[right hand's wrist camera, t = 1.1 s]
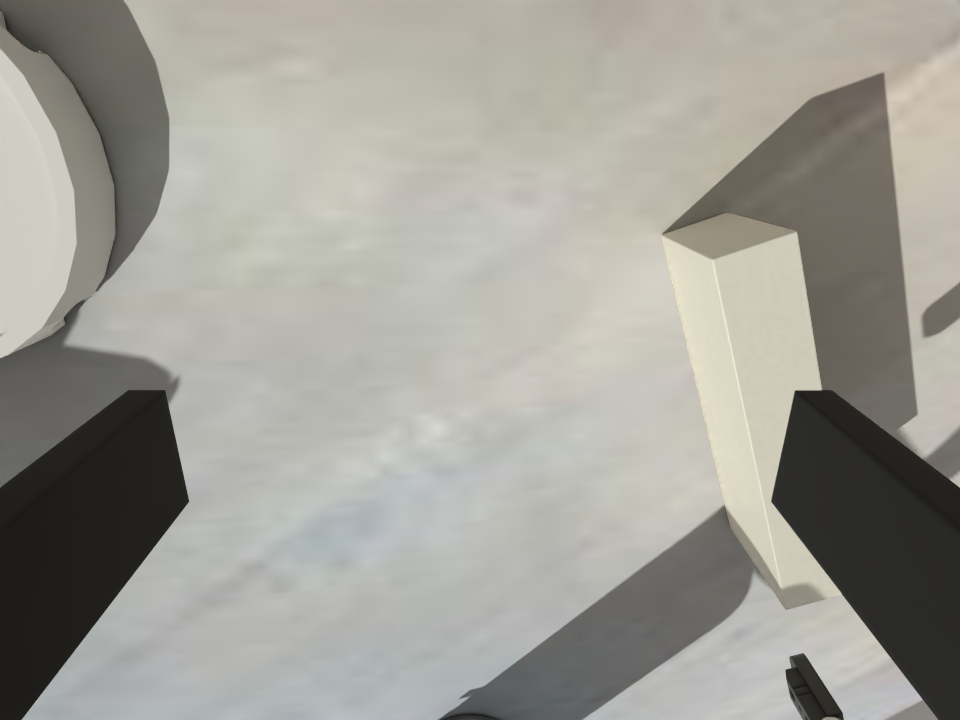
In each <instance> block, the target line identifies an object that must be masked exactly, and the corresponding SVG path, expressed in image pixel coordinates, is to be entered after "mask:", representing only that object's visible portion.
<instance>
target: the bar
mask: <svg viewBox="0 0 960 720" xmlns="http://www.w3.org/2000/svg"><path fill="white" fill-rule="evenodd" d="M661 238H662V242H663V246H664V251H665V255H666V259H667V263H668V267H669V272H670V276H671V280H672V284H673V289H674V293H675V297H676V301H677V305H678V310H679V314H680V318H681V322H682V327H683V331H684V335H685V339H686V343H687V348H688V352H689V356H690V360H691V365H692V369H693V373H694V377H695V381H696V386H697V390H698V394H699V398H700V403H701V407H702V411H703V415H704V419H705V424H706V428H707V432H708V436H709V441H710V445H711V449H712V453H713V457H714V462H715V466H716V470H717V474H718V479H719V483H720V487H721V491H722V495H723V500H724V504H725V508H726V512H727V517H728V521H729V525H730V528H731V530H732V531H733V533H734V534H735V536H736V537H737V539H738V540H739V541H740V543H741V544H742V546H743V547H744V549H745V550H746V552H747V553H748V555H749V556H750V558H751V559H752V561H753V562H754V564H755V565H756V567H757V568H758V570H759V571H760V573H761V574H762V576H763V577H764V579H765V580H766V581H767V583H768V584H769V586H770V587H771V589H772V590H773V592H774V593H775V595H776V596H777V598H778V599H779V601H780V602H781V604H782V605H783V607H784V608H785V609H786V610H787V609H791V608H795V607H798V606H802V605H806V604H810V603H813V602H817V601H821V600H824V599H828V598H832V597H835V596H839V595H842V593H841V592H840V591H839V590H838V588H837V587H836V586H835V584H834V583H833V582H832V580H831V579H830V578H829V576H828V575H827V574H826V573H825V571H824V570H823V569H822V567H821V566H820V565H819V563H818V562H817V561H816V560H815V558H814V557H813V556H812V554H811V553H810V552H809V550H808V549H807V548H806V547H805V545H804V544H803V543H802V541H801V540H800V539H799V537H798V536H797V535H796V534H795V532H794V531H793V530H792V528H791V527H790V526H789V524H788V523H787V522H786V521H785V519H784V518H783V517H782V515H781V514H780V513H779V511H778V510H777V509H776V508H775V506H774V505H773V504H772V502H771V499H772V494H773V490H774V485H775V480H776V476H777V471H778V466H779V462H780V457H781V452H782V448H783V443H784V439H785V434H786V429H787V425H788V420H789V415H790V411H791V406H792V401H793V397H794V392H795V390H822V384H821V378H820V372H819V365H818V359H817V353H816V346H815V340H814V334H813V327H812V321H811V315H810V308H809V302H808V296H807V289H806V283H805V277H804V271H803V264H802V258H801V252H800V245H799V239H798V233H797V231H794V230H791V229H787V228H783V227H780V226H776V225H772V224H768V223H765V222H761V221H757V220H753V219H750V218H746V217H742V216H738V215H735V214H731V213H724V214H721V215H718V216H715V217H712V218H709V219H706V220H703V221H700V222H697V223H694V224H691V225H689V226H686V227H683V228H680V229H677V230H674V231H671V232H668V233H665V234H662V235H661Z"/></svg>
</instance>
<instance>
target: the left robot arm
mask: <svg viewBox="0 0 960 720" xmlns="http://www.w3.org/2000/svg"><path fill="white" fill-rule="evenodd" d="M790 663H791V667H792V668H791V669H787V670H786V679H787V683H788V688H789V693H790V697H791V699H792V701H793V703H794V705H795V706H796V708H797V710H798V712H799V713H800V715H801V717H802V719H803V720H844V719H843V713H842V711H841V710H840V708H839V707H838V705H837V704H836V702H835V700H834V699H833V697H832V696H831V694H830V693H829V691H828V690H827V688H826V687H825V685H824V683H823V682H822V680H821V679H820V677H819V676H818V674H817V673H816V671H815V670H814V668H813V666H812V665H811V663H810V662H809V660H808V659H807V657H806V656H805V654H803V653H802V654H798V655H794V656H790ZM446 720H495V719H492V718H489V717H484V716H477V715H464V716H457V717H452V718H449V719H446Z"/></svg>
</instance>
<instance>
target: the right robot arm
mask: <svg viewBox="0 0 960 720" xmlns="http://www.w3.org/2000/svg"><path fill="white" fill-rule="evenodd" d="M188 502H189V499H188V494H187V490H186V485H185V480H184V476H183V471H182V466H181V462H180V457H179V452H178V448H177V443H176V439H175V434H174V429H173V425H172V420H171V415H170V411H169V406H168V401H167V397H166V392H165V390H128V391H127V392H125V393H124V394H123V395H122V396H120V397H119V398H118V399H116V400H115V401H114V402H112V403H111V404H110V405H108V406H107V407H106V408H104V409H103V410H102V411H101V412H99V413H98V414H97V415H95V416H94V417H93V418H91V419H90V420H89V421H87V422H86V423H85V424H83V425H82V426H81V427H79V428H78V429H77V430H76V431H74V432H73V433H72V434H70V435H69V436H68V437H66V438H65V439H64V440H62V441H61V442H60V443H58V444H57V445H56V446H54V447H53V448H52V449H51V450H49V451H48V452H47V453H45V454H44V455H43V456H41V457H40V458H39V459H37V460H36V461H35V462H33V463H32V464H31V465H30V466H28V467H27V468H26V469H24V470H23V471H22V472H20V473H19V474H18V475H16V476H15V477H14V478H12V479H11V480H10V481H8V482H7V483H6V484H5V485H3V486H2V487H1V488H0V720H22V718H23V717H24V716H25V714H26V713H27V712H28V711H29V709H30V708H31V707H32V705H33V704H34V703H35V701H36V700H37V699H38V698H39V696H40V695H41V694H42V692H43V691H44V690H45V688H46V687H47V686H48V685H49V683H50V682H51V681H52V679H53V678H54V677H55V675H56V674H57V673H58V672H59V670H60V669H61V668H62V666H63V665H64V664H65V662H66V661H67V660H68V659H69V657H70V656H71V655H72V653H73V652H74V651H75V649H76V648H77V647H78V645H79V644H80V643H81V642H82V640H83V639H84V638H85V636H86V635H87V634H88V632H89V631H90V630H91V629H92V627H93V626H94V625H95V623H96V622H97V621H98V619H99V618H100V617H101V616H102V614H103V613H104V612H105V610H106V609H107V608H108V606H109V605H110V604H111V603H112V601H113V600H114V599H115V597H116V596H117V595H118V593H119V592H120V591H121V590H122V588H123V587H124V586H125V584H126V583H127V582H128V580H129V579H130V578H131V576H132V575H133V574H134V573H135V571H136V570H137V569H138V567H139V566H140V565H141V563H142V562H143V561H144V560H145V558H146V557H147V556H148V554H149V553H150V552H151V550H152V549H153V548H154V547H155V545H156V544H157V543H158V541H159V540H160V539H161V537H162V536H163V535H164V534H165V532H166V531H167V530H168V528H169V527H170V526H171V524H172V523H173V522H174V521H175V519H176V518H177V517H178V515H179V514H180V513H181V511H182V510H183V509H184V508H185V506H186V505H187V504H188ZM771 502H772V504H773V505H774V506H775V508H776V509H777V510H778V511H779V513H780V514H781V515H782V517H783V518H784V519H785V521H786V522H787V523H788V524H789V526H790V527H791V528H792V530H793V531H794V532H795V534H796V535H797V536H798V537H799V539H800V540H801V541H802V543H803V544H804V545H805V547H806V548H807V549H808V550H809V552H810V553H811V554H812V556H813V557H814V558H815V560H816V561H817V562H818V563H819V565H820V566H821V567H822V569H823V570H824V571H825V573H826V574H827V575H828V576H829V578H830V579H831V580H832V582H833V583H834V584H835V586H836V587H837V588H838V590H839V591H840V592H841V593H842V595H843V596H844V597H845V599H846V600H847V601H848V603H849V604H850V605H851V606H852V608H853V609H854V610H855V612H856V613H857V614H858V616H859V617H860V618H861V619H862V621H863V622H864V623H865V625H866V626H867V627H868V629H869V630H870V631H871V632H872V634H873V635H874V636H875V638H876V639H877V640H878V642H879V643H880V644H881V645H882V647H883V648H884V649H885V651H886V652H887V653H888V655H889V656H890V657H891V659H892V660H893V661H894V662H895V664H896V665H897V666H898V668H899V669H900V670H901V672H902V673H903V674H904V675H905V677H906V678H907V679H908V681H909V682H910V683H911V685H912V686H913V687H914V688H915V690H916V691H917V692H918V694H919V695H920V696H921V698H922V699H923V700H924V701H925V703H926V704H927V705H928V707H929V708H930V709H931V710H932V712H933V713H934V714H935V716H936V717H937V718H938V720H960V488H959V487H958V486H957V485H955V484H954V483H953V482H952V481H950V480H949V479H948V478H946V477H945V476H944V475H942V474H941V473H940V472H938V471H937V470H936V469H934V468H933V467H932V466H930V465H929V464H928V463H927V462H925V461H924V460H923V459H921V458H920V457H919V456H917V455H916V454H915V453H913V452H912V451H911V450H909V449H908V448H907V447H906V446H904V445H903V444H902V443H900V442H899V441H898V440H896V439H895V438H894V437H892V436H891V435H890V434H888V433H887V432H886V431H884V430H883V429H882V428H881V427H879V426H878V425H877V424H875V423H874V422H873V421H871V420H870V419H869V418H867V417H866V416H865V415H863V414H862V413H861V412H859V411H858V410H857V409H856V408H854V407H853V406H852V405H850V404H849V403H848V402H846V401H845V400H844V399H842V398H841V397H840V396H838V395H837V394H836V393H835V392H833V391H832V390H795V392H794V397H793V401H792V406H791V411H790V415H789V420H788V425H787V429H786V434H785V439H784V443H783V448H782V452H781V457H780V462H779V466H778V471H777V476H776V480H775V485H774V490H773V494H772V499H771Z"/></svg>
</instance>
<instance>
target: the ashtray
mask: <svg viewBox="0 0 960 720" xmlns="http://www.w3.org/2000/svg"><path fill="white" fill-rule="evenodd" d="M115 234H116V229H115V195H114V183H113V180H112V176H111V173H110V169H109V165H108V162H107V158H106V155H105V151H104V148H103V144H102V141H101V137H100V134H99V132H98V130H97V128H96V127H95V125H94V123H93V121H92V119H91V117H90V116H89V114H88V112H87V110H86V108H85V106H84V105H83V103H82V101H81V99H80V97H79V95H78V94H77V92H76V90H75V88H74V86H73V84H72V83H71V81H70V80H69V79H68V78H67V77H66V76H65V74H64V73H63V72H62V71H61V70H60V68H59V67H58V66H57V65H56V64H55V63H54V61H53V60H52V59H51V58H50V57H49V56H48V55H47V54H44V53H43V52H41V51H40V50H39V51H38V52H33V51H31V50H29V49H28V48H26V47H25V46H24V45H22V44H21V43H20V42H18V41H17V40H16V39H15V38H14V37H13V36H12V35H11V34H10V33H9V32H8V31H7V30H6V25H5V20H4V15H3V13H2V12H1V11H0V358H1V357H4V356H7V355H9V354H11V353H14V352H16V351H18V350H20V349H22V348H25V347H27V346H29V345H31V344H33V343H36V342H38V341H40V340H42V339H44V338H47V337H49V336H51V335H53V334H54V333H55V332H56V331H58V330H59V329H60V328H61V327H63V326H64V325H65V321H64V317H65V315H66V314H67V313H68V312H69V311H70V310H71V309H72V308H73V307H74V306H75V305H76V304H77V303H78V302H80V301H82V300H85V301H86V300H87V299H88V298H90V297H92V295H93V294H94V292H95V290H96V289H97V287H98V286H99V284H100V283H101V281H102V280H103V278H104V276H105V273H106V269H107V265H108V261H109V258H110V254H111V250H112V246H113V242H114V238H115Z"/></svg>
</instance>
